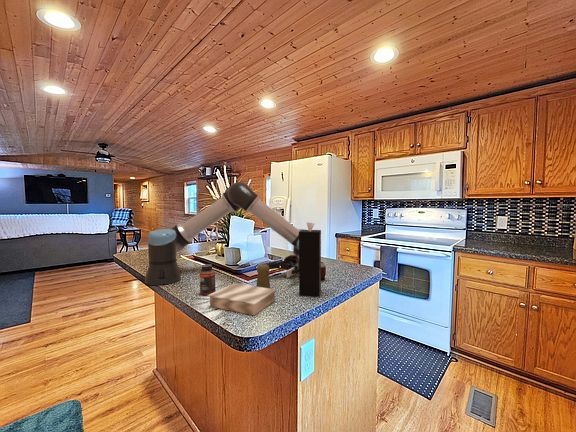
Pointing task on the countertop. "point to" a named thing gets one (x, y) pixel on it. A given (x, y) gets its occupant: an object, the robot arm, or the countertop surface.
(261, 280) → the cork
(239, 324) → the countertop surface
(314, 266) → the tissue box
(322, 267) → the mate gourd
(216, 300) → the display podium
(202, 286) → the supplement bottle
